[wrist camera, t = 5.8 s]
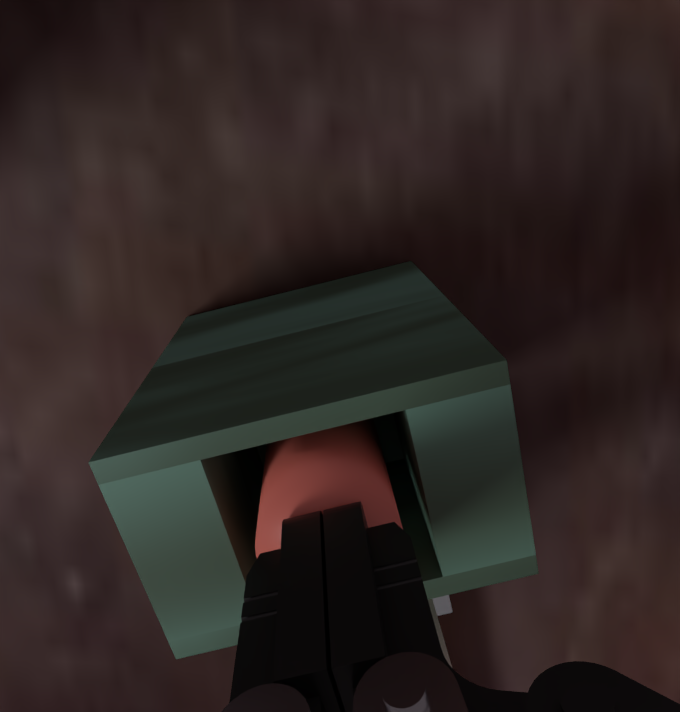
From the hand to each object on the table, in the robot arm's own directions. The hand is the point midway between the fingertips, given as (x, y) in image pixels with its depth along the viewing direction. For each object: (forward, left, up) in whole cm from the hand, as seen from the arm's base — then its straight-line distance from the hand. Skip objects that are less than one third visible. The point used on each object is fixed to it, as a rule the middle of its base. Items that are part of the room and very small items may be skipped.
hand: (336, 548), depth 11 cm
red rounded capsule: (0, 0, -5) cm, 5 cm away
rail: (+6, -8, -11) cm, 15 cm away
